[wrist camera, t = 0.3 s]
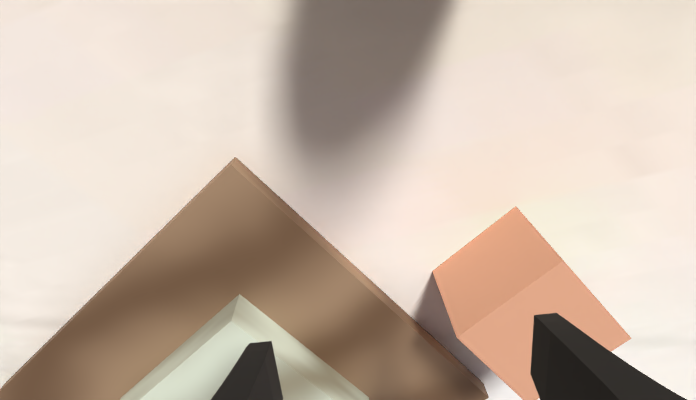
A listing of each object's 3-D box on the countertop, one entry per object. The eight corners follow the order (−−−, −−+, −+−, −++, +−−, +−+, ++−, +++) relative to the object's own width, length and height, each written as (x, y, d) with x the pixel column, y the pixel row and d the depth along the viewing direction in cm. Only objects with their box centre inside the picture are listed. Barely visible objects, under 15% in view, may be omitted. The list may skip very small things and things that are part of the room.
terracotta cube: (573, 271, 24) (631, 338, 19) (492, 329, 25) (528, 404, 20) (515, 205, 22) (563, 260, 18) (431, 270, 23) (456, 337, 19)
